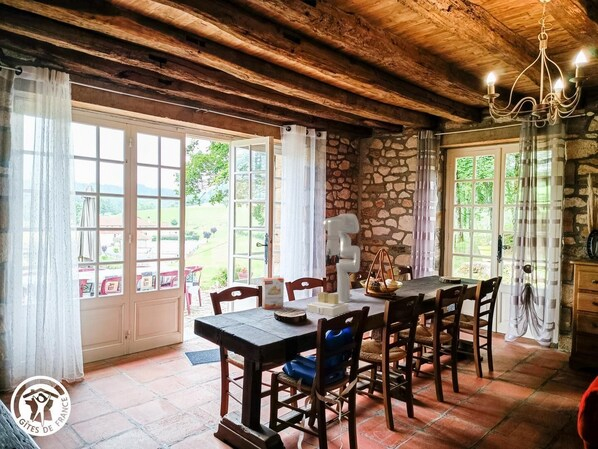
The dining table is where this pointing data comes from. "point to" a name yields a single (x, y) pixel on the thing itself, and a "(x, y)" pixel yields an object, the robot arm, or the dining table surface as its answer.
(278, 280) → the cracker box
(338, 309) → the kitchen scale
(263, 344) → the dining table surface
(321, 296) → the brass weight
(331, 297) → the brass weight
